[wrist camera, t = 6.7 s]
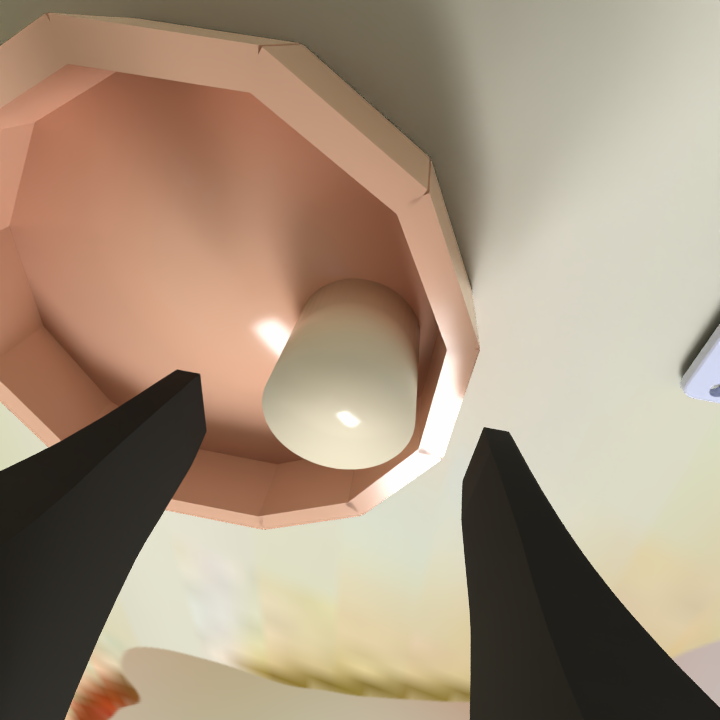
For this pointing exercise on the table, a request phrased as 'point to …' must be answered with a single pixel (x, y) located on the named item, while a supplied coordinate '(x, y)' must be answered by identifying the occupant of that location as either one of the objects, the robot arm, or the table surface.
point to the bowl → (210, 246)
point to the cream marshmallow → (347, 377)
